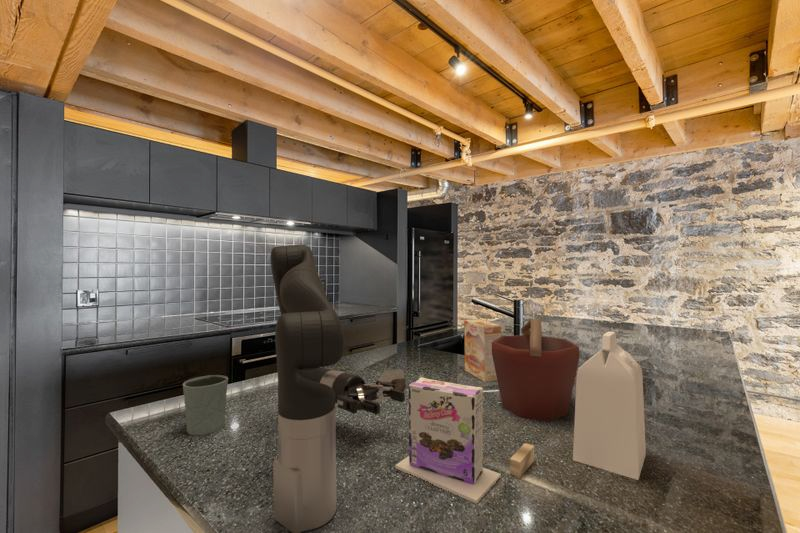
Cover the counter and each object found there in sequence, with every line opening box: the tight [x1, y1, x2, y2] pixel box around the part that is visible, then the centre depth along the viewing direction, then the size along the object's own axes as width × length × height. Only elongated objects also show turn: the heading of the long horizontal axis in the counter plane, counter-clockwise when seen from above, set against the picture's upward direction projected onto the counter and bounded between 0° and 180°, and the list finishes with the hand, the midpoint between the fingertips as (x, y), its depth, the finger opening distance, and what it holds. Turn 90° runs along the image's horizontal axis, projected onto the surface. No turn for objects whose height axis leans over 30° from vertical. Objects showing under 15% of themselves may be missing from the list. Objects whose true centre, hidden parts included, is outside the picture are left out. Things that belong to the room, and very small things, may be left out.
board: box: [394, 455, 502, 505], centre depth 72 cm, size 10×18×1 cm, turn 51°
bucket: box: [492, 317, 580, 422], centre depth 104 cm, size 24×22×25 cm
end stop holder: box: [509, 442, 535, 479], centre depth 80 cm, size 8×20×3 cm, turn 51°
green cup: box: [182, 374, 229, 436], centre depth 94 cm, size 10×10×12 cm
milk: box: [572, 330, 647, 481], centre depth 77 cm, size 12×12×26 cm
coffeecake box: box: [463, 318, 502, 383], centre depth 135 cm, size 15×7×20 cm, turn 17°
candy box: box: [408, 376, 484, 484], centre depth 73 cm, size 14×6×16 cm, turn 60°
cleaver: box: [377, 369, 406, 392], centre depth 127 cm, size 30×10×2 cm, turn 2°
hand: (391, 403), depth 81 cm, fingers open, 8 cm apart
